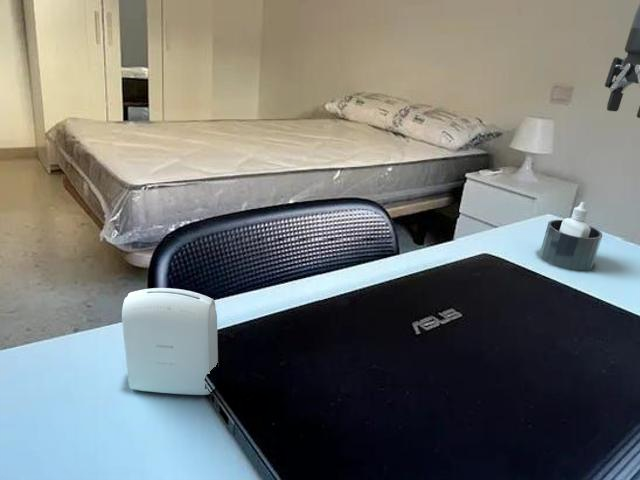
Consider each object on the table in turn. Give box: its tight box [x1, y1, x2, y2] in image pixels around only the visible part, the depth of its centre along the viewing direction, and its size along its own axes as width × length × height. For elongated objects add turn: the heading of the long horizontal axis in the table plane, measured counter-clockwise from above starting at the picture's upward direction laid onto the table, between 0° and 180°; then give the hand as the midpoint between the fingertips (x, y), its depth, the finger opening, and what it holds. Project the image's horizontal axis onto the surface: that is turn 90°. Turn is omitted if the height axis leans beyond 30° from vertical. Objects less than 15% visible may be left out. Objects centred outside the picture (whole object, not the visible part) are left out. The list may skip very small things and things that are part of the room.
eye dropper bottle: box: [559, 201, 590, 238], centre depth 98 cm, size 4×6×12 cm
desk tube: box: [539, 219, 603, 272], centre depth 99 cm, size 10×10×7 cm
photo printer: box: [121, 287, 219, 396], centre depth 56 cm, size 10×4×12 cm, turn 88°
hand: (626, 114), depth 101 cm, fingers open, 8 cm apart
